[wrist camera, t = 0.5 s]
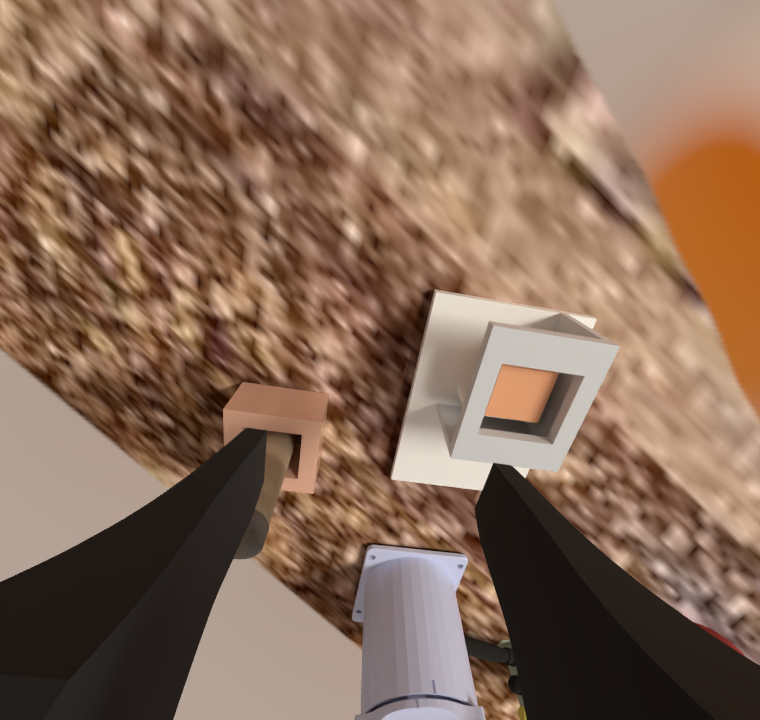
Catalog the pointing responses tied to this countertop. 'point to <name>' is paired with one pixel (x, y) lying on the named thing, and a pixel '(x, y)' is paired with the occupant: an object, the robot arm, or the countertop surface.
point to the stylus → (267, 492)
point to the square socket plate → (476, 382)
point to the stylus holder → (282, 425)
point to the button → (520, 393)
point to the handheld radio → (498, 654)
